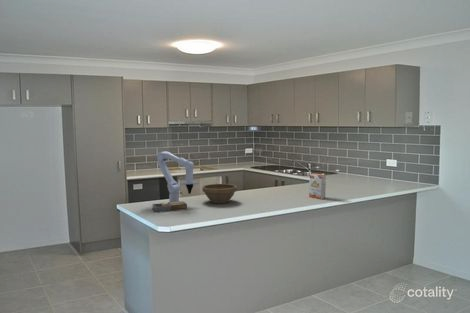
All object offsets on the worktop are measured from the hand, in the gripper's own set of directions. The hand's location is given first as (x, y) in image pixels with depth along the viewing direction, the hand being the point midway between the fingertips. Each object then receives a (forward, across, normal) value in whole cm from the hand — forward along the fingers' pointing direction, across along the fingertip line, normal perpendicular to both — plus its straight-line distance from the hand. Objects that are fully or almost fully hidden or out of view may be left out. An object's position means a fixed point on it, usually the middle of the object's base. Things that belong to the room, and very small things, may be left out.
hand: (189, 193), depth 330 cm
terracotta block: (+7, -22, -10) cm, 25 cm away
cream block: (+7, -20, -4) cm, 21 cm away
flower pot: (+10, +27, +4) cm, 29 cm away
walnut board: (+9, -12, -7) cm, 17 cm away
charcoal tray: (+9, -24, -7) cm, 27 cm away
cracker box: (+10, +112, -12) cm, 113 cm away
